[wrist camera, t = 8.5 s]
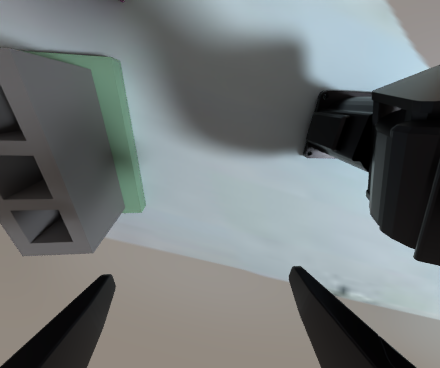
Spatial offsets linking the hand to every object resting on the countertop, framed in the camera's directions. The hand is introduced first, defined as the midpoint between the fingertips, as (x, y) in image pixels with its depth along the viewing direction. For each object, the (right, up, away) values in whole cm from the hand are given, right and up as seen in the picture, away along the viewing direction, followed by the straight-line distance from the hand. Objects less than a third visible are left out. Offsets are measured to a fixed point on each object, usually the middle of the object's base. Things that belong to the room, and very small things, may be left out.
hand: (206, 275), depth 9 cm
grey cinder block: (-12, +8, +7) cm, 15 cm away
